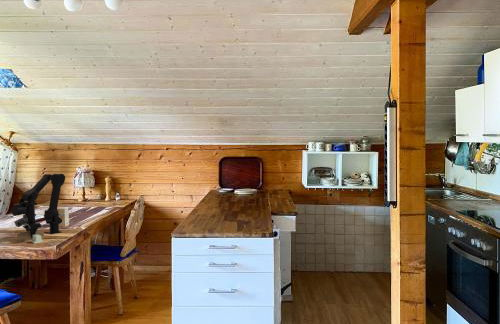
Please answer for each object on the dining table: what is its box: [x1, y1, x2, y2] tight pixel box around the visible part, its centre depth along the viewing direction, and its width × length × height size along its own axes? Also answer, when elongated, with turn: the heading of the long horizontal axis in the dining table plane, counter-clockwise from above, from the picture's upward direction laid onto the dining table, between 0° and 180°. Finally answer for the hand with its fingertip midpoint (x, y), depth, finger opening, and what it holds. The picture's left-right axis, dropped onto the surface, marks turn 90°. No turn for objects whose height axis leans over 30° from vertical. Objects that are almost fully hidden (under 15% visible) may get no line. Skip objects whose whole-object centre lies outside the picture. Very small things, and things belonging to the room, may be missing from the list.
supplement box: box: [57, 206, 70, 228], centre depth 288 cm, size 8×5×13 cm, turn 81°
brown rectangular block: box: [16, 229, 45, 243], centre depth 251 cm, size 4×14×5 cm, turn 130°
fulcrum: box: [30, 234, 44, 244], centre depth 245 cm, size 5×5×4 cm
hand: (30, 237), depth 251 cm, fingers closed on brown rectangular block, 4 cm apart
